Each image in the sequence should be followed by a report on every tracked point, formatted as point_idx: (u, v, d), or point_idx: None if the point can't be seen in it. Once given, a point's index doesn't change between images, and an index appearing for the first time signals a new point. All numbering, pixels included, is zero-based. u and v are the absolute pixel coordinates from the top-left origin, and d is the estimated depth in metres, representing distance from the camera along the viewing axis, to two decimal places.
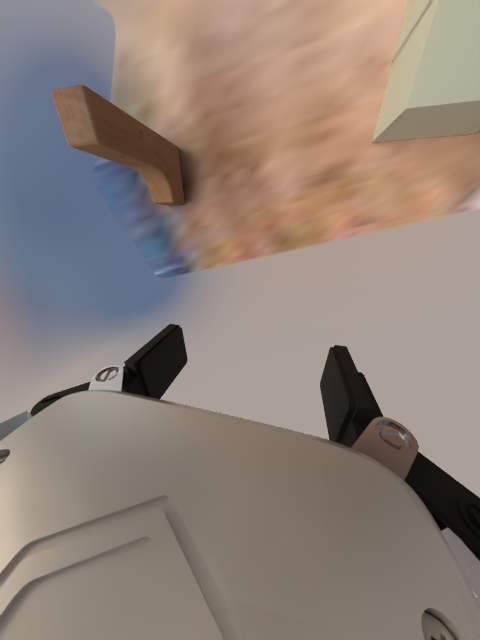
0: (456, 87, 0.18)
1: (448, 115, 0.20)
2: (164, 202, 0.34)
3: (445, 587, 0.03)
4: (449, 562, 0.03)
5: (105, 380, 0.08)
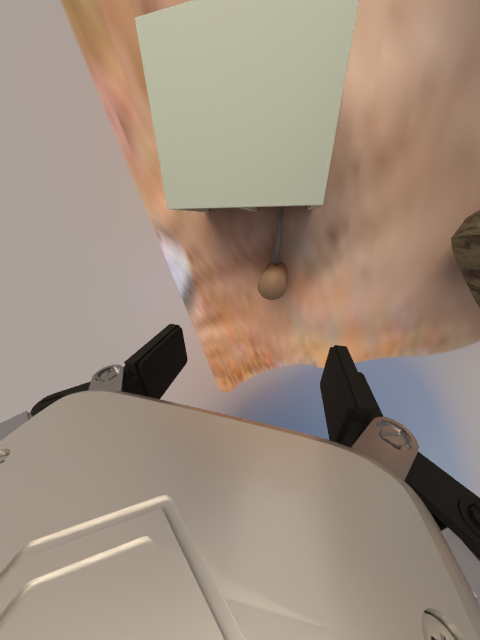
0: (159, 92, 0.15)
1: None
2: None
3: (445, 587, 0.03)
4: (449, 562, 0.03)
5: (105, 380, 0.08)
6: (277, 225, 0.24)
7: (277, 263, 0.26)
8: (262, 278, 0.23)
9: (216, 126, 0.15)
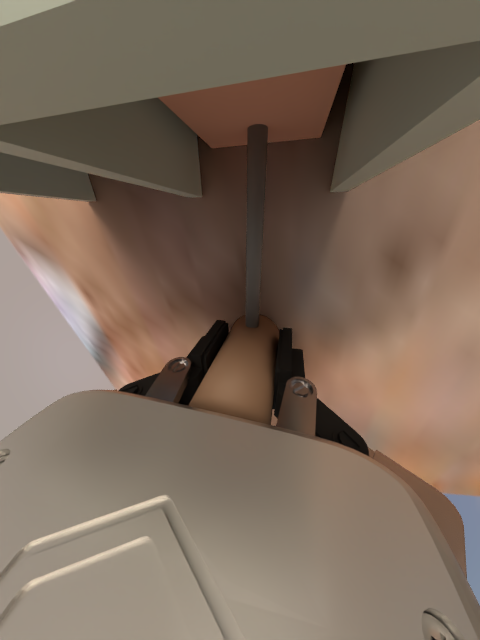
0: None
1: None
2: None
3: (445, 587, 0.03)
4: (449, 562, 0.03)
5: (174, 370, 0.08)
6: (248, 235, 0.09)
7: (254, 325, 0.11)
8: (195, 404, 0.07)
9: None
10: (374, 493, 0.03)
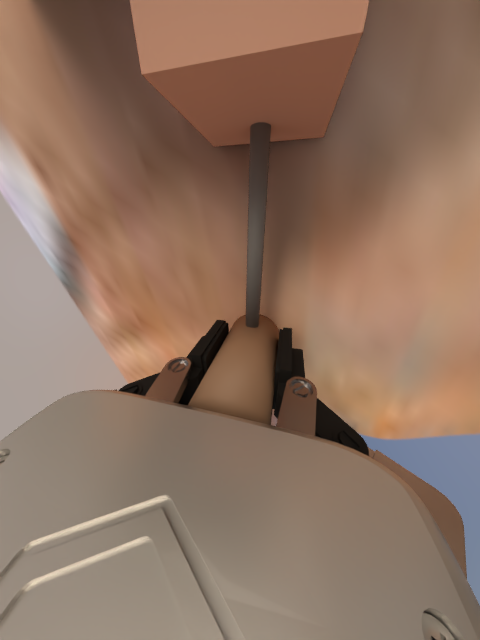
0: None
1: None
2: None
3: (445, 587, 0.03)
4: (449, 562, 0.03)
5: (174, 370, 0.08)
6: (250, 234, 0.09)
7: (254, 325, 0.11)
8: (194, 404, 0.07)
9: None
10: (374, 493, 0.03)
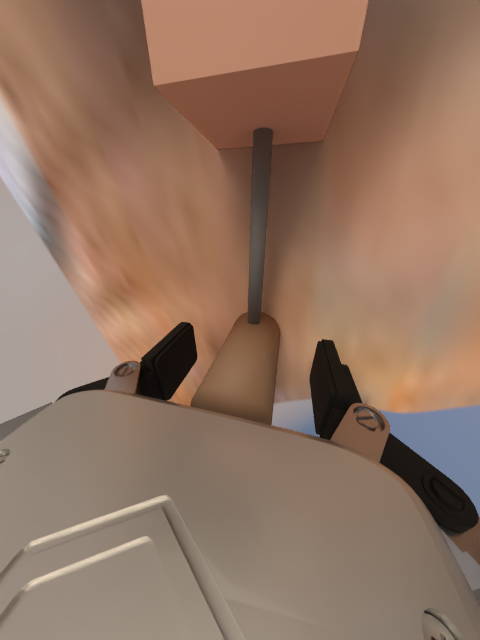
0: None
1: None
2: None
3: (445, 587, 0.03)
4: (449, 562, 0.03)
5: (123, 375, 0.08)
6: (252, 234, 0.09)
7: (256, 322, 0.11)
8: (200, 396, 0.07)
9: None
10: (374, 493, 0.03)
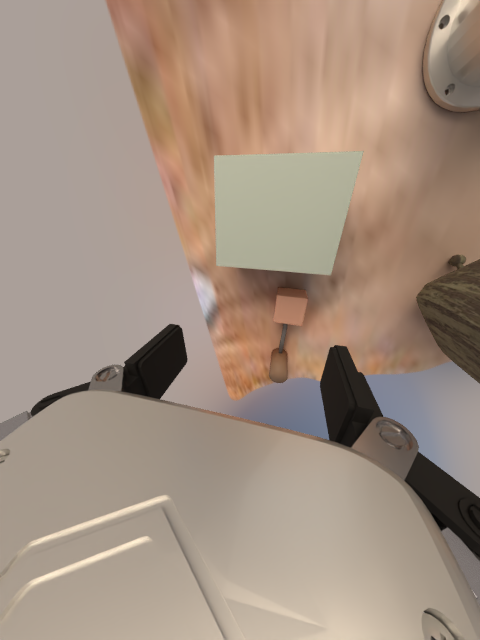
0: (223, 196, 0.22)
1: None
2: None
3: (445, 587, 0.03)
4: (449, 562, 0.03)
5: (105, 380, 0.08)
6: (282, 332, 0.37)
7: (281, 352, 0.39)
8: (272, 371, 0.35)
9: (261, 221, 0.22)
10: (374, 493, 0.03)
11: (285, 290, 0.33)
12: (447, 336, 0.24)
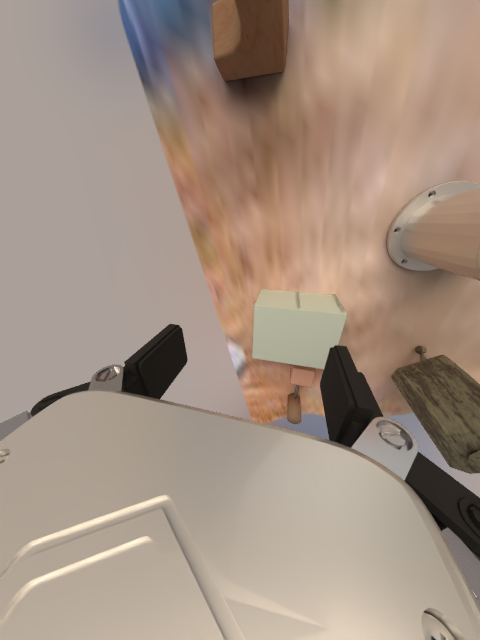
0: (259, 325, 0.34)
1: None
2: (213, 36, 0.23)
3: (445, 587, 0.03)
4: (449, 562, 0.03)
5: (105, 380, 0.08)
6: (296, 386, 0.49)
7: (295, 398, 0.51)
8: (290, 416, 0.48)
9: (283, 339, 0.34)
10: (374, 493, 0.03)
11: None
12: None
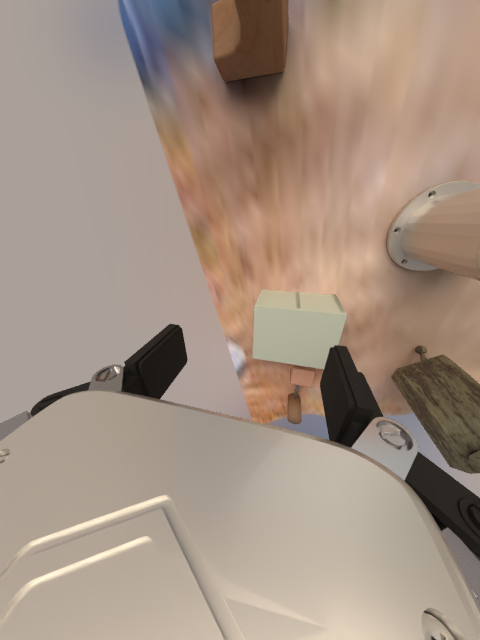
0: (259, 325, 0.34)
1: None
2: (213, 36, 0.23)
3: (445, 587, 0.03)
4: (449, 562, 0.03)
5: (105, 380, 0.08)
6: (296, 386, 0.49)
7: (295, 398, 0.51)
8: (290, 416, 0.48)
9: (283, 339, 0.34)
10: (374, 493, 0.03)
11: None
12: None
